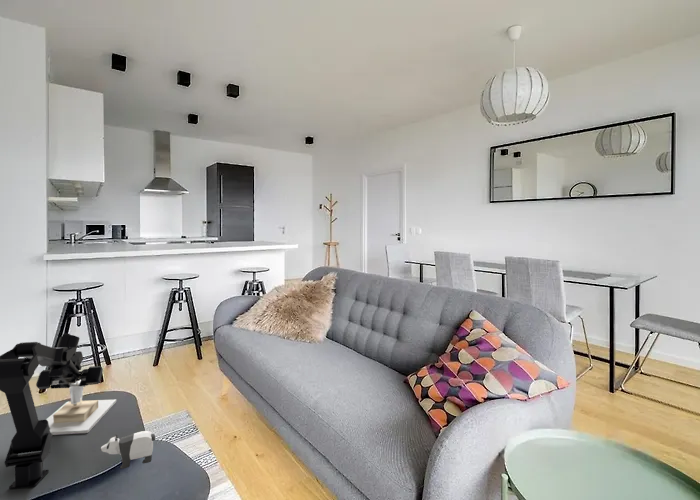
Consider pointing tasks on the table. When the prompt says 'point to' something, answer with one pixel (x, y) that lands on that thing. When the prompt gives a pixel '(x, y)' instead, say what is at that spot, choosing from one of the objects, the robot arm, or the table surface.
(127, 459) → the giant panda
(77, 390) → the milkshake
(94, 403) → the plinth
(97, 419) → the baseplate
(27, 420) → the robot arm
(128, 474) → the table surface
